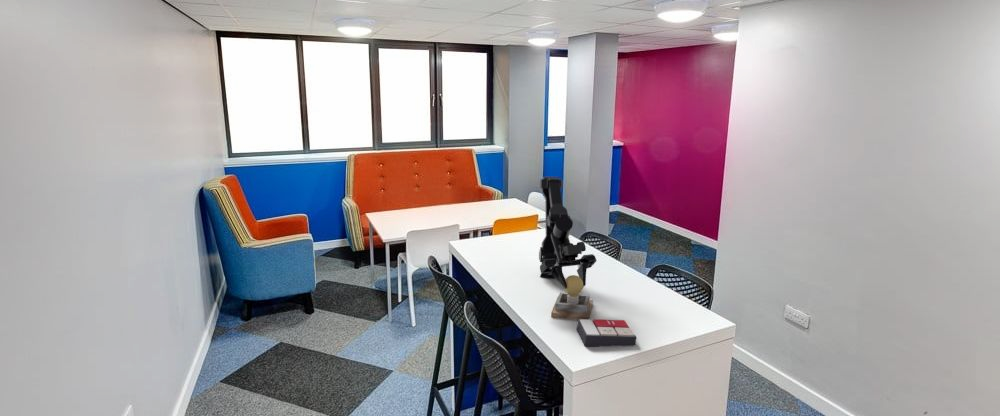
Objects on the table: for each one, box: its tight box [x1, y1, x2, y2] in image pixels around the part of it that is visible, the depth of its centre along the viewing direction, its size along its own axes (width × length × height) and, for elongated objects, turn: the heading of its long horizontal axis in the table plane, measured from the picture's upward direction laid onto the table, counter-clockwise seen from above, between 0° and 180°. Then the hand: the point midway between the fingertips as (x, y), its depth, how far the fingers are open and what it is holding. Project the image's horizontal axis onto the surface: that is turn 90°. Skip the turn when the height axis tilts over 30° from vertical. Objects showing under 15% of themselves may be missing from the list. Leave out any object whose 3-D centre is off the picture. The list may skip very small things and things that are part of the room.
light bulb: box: [564, 274, 584, 305], centre depth 171 cm, size 6×6×10 cm
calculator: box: [576, 318, 637, 348], centre depth 153 cm, size 11×4×15 cm
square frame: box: [550, 291, 594, 321], centre depth 172 cm, size 12×14×4 cm
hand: (575, 287), depth 169 cm, fingers closed on light bulb, 6 cm apart
